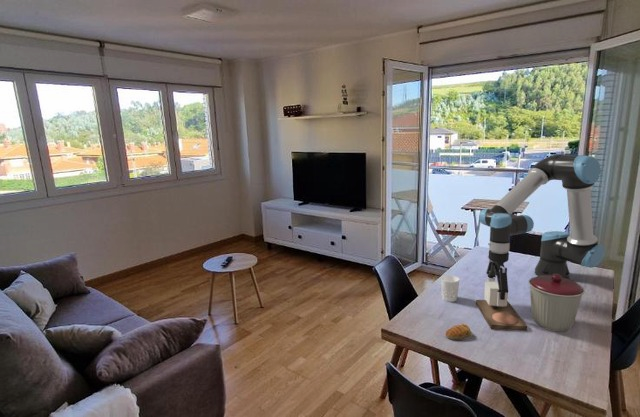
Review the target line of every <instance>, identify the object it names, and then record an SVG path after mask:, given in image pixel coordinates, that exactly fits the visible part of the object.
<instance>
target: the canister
mask: <svg viewBox="0 0 640 417" xmlns="http://www.w3.org/2000/svg"><path fill="white" fill-rule="evenodd" d="M528 285H529V288H530V289H529V290H530V308H531V310H530V311H531V317H532V320H533V321H534V323H535V324H537V325H538V326H540V327H541V328H544V329H546V330H549V331H554V332H564V331H565V332H566V331H569V330H570V329H571V328H573V326H574V323H575V321H576V317H577V314H578V311H579V307H580V302H581V299H582V296H583V295H584V294H585V293H586V291H585V290H586V289H585V288H584V287H583V286H582V285H581V284H579V283H577V282H575V281H573V280H572V279H570V278H569V279H566V278H563V277H562V276H561V275H559V274H552V275H542V276H537V275H536V276H533V277H531V278H529V280H528Z"/></svg>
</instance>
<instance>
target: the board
mask: <svg viewBox="0 0 640 417" xmlns="http://www.w3.org/2000/svg"><path fill="white" fill-rule="evenodd" d="M475 305H476V306H477V309H479V312H480V313H481V315H482V317H483V318H484V320H485V322H486V323H487V324H488V326H489V329H490V330H492V331H493V330H494V331H495V330H496V331H517V332H518V331H520V332H521V331H523V332H526V331H527V332H528V325H527V324H526V322H525V321H524V320H523V319H522V318H521V316H520V315H519V313H518V312H517V311H516V310H515V308H514V307H513V305H511V304H510V301H508V300H507V306H489V304H488V303H487V301H486V300H485V299H476V301H475Z"/></svg>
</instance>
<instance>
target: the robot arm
mask: <svg viewBox="0 0 640 417" xmlns="http://www.w3.org/2000/svg"><path fill="white" fill-rule="evenodd" d="M601 169H602V168H601V164H600V162H599V160H598V159H597V158H595V157H594V156H591V155H585V154H562V153H561V154H559V153H558V154H552V155H550V156H547V157H545V158H543V159H541V160H540V161H538V162H536V163H535V164H534V165H533V166H531V168H529V170H527V174H526V175H525V176H524V177H523V178H522V179H521V180H520V181H519V182H517V184H516V185H515V186H513V187H512V188H511V190H509V191H508V192H507V193H506V194H505V195H504V196H503V197H502V198H501V199H500V200H499V201H497V203H496V204H495V205H493V207H492V208H484V209H482V210H481V211H480V212H479V214H478V219H479V220H478V221H479V222H480V223H481V224H482V225H484V226H487V227H490V228H489V242H488V249H489V250H488V260H489V261H488V264H487V269H486V272H485V273H486V275H487V282H496V280H497V282H498V286H499V290H498V291H497V292H498V298H497V306H505V295H506V293H508V294H509V284H508V268H507V267H505V265H504V264H505V263H507V262H508V261H509V258H510V253H509V252H510V249H511V245H510V244H511V237H512V236H515V235H517V236H518V235H523V234H526V233H530V232H531V231H533V229H534V225H535V224H534V220H533V218H532V217H531V216H529V215H526V214H520V215H515V214H513V213H514V212H515V211H516V210H517V209H518V208H519V207H520V206H521V205H522V204H523V203H524V202H525V201H526V200H527V199H528V198H529V197H530V196H532V195H533V194H534V193H535V192H536V190H538V189H539V188H540V187H541V186H543V185H546V184H547V183H549V182H550V181H553V180H556V181H561V184H562V186H561V187H562V188H563V189H565V190H566V195H567V208H568V222H569V232H568V231H562V230H561V231H560V230H556V231H554V230H553V231H551V230H550V231H547V232H544V233H542V236H541V240H540V241H541V244H540V255H539V260H538V262H537V263H536V266H535V267H534V275H535V276H536V277H537V276H542V275H552V274H559V275H561V276H562V277H563V278H566V279H569V280H570V270H569V266H568V264H567V263H568V262H570V263H573V264H576V265H580V266H581V267H585V268H595V267H597V266H598V265H599V264H600V263H601V262H602V260H603V259H604V255H605V252H606V248H605V246H604V245H603V244H601V243H599V241H598V240H599V239H598V237H597V236H596V235H594V228H593V227H594V226H593V212H592V210H593V209H592V195H591V194H592V193H591V188H593V187H594V186H595V183H597V181H598V180H599V179H600V178H601V177H600V175H601V172H602V170H601Z"/></svg>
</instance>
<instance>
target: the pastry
mask: <svg viewBox="0 0 640 417" xmlns="http://www.w3.org/2000/svg"><path fill="white" fill-rule="evenodd" d="M472 336H473V333H472V331H471V328H470V327H469V325H467V324H464V323H461V324H455V325H453V326H451V327H450V328H449V329H447V330H446V331H445V337H447V338H448V339H450V340H455V341H456V340H458V341H461V340H462V341H463V340H466V339H469V338H471V337H472Z"/></svg>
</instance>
